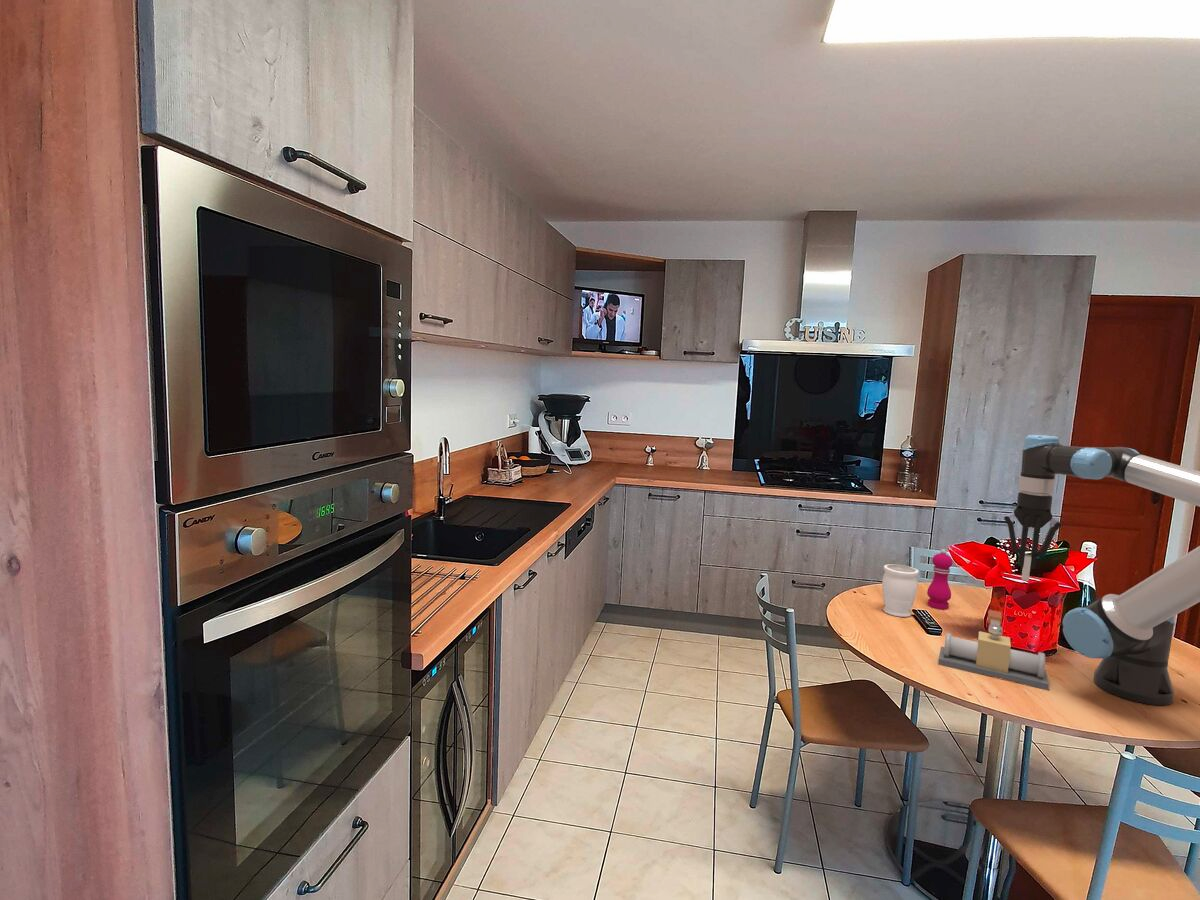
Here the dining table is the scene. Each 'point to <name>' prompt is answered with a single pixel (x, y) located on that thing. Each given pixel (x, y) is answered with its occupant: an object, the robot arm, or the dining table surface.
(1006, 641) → the valve
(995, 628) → the valve lever
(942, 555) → the pepper mill
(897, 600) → the jar
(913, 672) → the dining table surface
